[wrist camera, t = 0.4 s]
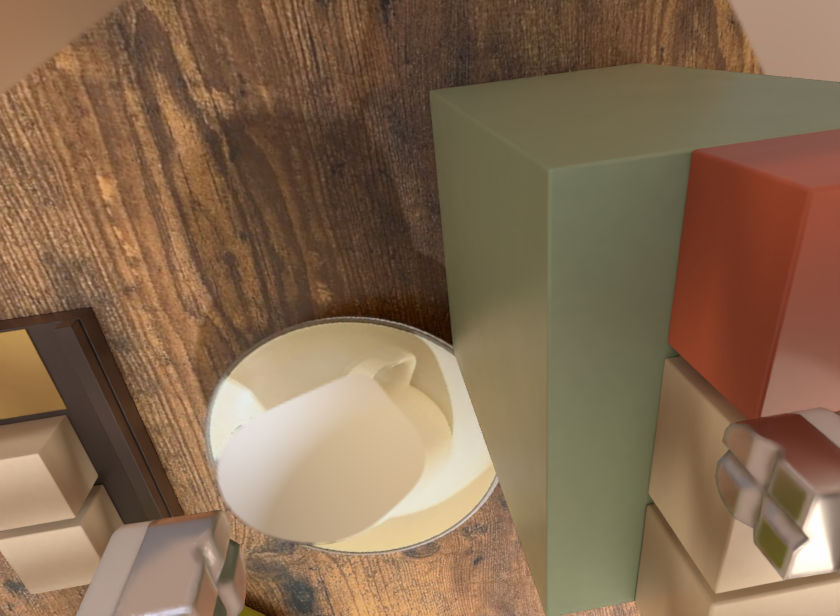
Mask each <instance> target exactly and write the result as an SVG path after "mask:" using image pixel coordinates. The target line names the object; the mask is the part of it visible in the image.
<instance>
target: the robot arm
mask: <svg viewBox="0 0 840 616" xmlns="http://www.w3.org/2000/svg"><path fill="white" fill-rule="evenodd" d="M722 442H723V443H724V444H725V446H726V447H727V448H728V451H727V452H726V453H725V454H724V455H723V456H722V457H721V458H720V459H719V460H718V461H717V466H716V472H715V480H716V485H717V489H718V493H719V495H720V497H721V499H722V501H723V503H724V505H725V507H726V508H727V509H728V511H729V512H730V513H731V515H732V516H733V517H734V518H735V519H736V520H738V521H740V522H742V523H743V524H745V525H747V526H749V527H751V528H753V543H754V544H755V545H756V546H757V548H758V549H759V550H760V551H761V553H762V554H763V555H764V556H765V558H766V559H767V560H768V561H769V563H770V564H771V565H772V566H773V568H774V569H775V570H776V571H777V573H778V574H779V575H780V576H781V578H782V579H783V580H788V579H794V578H800V577H807V576H813V575H819V574H825V573H832V572H838V571H839V572H838V574H837V575H839V576H840V417H839V416H838V415H837V414H836V413H834V412H833V411H831V410H828V409H825V408H823V407H818V408H812V409H807V410H801V411H795V412H791V413H783V414H778V415H772V416H767V417H761V418H756V419H750V420H745V421H739V422H734V423H731V424H730V425H729V426H728V427H727V428H726V429H725V432H724V436H723V440H722ZM231 529H232V524H231V522H230V519H229V517H228V515H227V513H226V511H222V510H218V511H211V512H204V513H197V514H190V515H183V516H177V517H170V518H163V519H156V520H153V521H146V522H139V523H132V524H125V525H121V526H120V527H119V528H118V529H117V530H116V531H115V532H114V533H113V534H112V536H111V538H110V540H109V543H108V545H107V547H106V549H105V551H104V554H103V556H102V558H101V560H100V563H99V565H98V567H97V569H96V571H95V574H94V576H93V578H92V580H91V583H90V585H89V587H88V589H87V591H86V594H85V596H84V598H83V600H82V602H81V605H80V607H79V609H78V611H77V614H76V616H238V615H239V614H240V612H241V611H242V610H243V608H244V603H245V596H246V590H247V584H246V564H245V559H244V554H243V552H242V549H241V546H240V544H238V543H236V542H234V541H233V540H231V539H229V538H230V534H231Z"/></svg>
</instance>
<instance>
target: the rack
mask: <svg viewBox="0 0 840 616" xmlns="http://www.w3.org/2000/svg"><path fill="white" fill-rule="evenodd" d="M183 515H184V514H183V512H182V509H181V507H180V505H179V503H178V500H177V498H176V496H175V494H174V492H173V489H172V487H171V485H170V483H169V480H168V478H167V476H166V474H165V472H164V469H163V467H162V465H161V463H160V460H159V458H158V456H157V454H156V452H155V449H154V447H153V445H152V443H151V440H150V438H149V436H148V434H147V431H146V429H145V427H144V425H143V423H142V420H141V418H140V416H139V414H138V411H137V409H136V407H135V405H134V403H133V400H132V398H131V396H130V394H129V391H128V389H127V387H126V385H125V383H124V380H123V378H122V376H121V374H120V371H119V369H118V367H117V365H116V363H115V360H114V358H113V356H112V354H111V351H110V349H109V347H108V345H107V343H106V340H105V338H104V336H103V334H102V331H101V329H100V327H99V325H98V322H97V320H96V318H95V316H94V314H93V311H92V309H91V308H83V309H76V310H70V311H63V312H56V313H50V314H43V315H36V316H30V317H23V318H17V319H10V320H3V321H0V551H1V553H2V554H3V555H4V557H5V558H6V560H7V561H8V562H9V564H10V565H11V567H12V568H13V570H14V571H15V572H16V574H17V575H18V577H19V578H20V579H21V581H22V582H23V584H24V585H25V586H26V588H27V589H28V591H29V592H30V593H31V594H38V593H43V592H49V591H54V590H60V589H65V588H71V587H76V586H82V585H87V584H90V583H91V580H92V578H93V576H94V574H95V571H96V569H97V567H98V565H99V563H100V560H101V558H102V556H103V554H104V551H105V549H106V547H107V545H108V543H109V540H110V538H111V536H112V534H113V533H114V532H115V531H116V530H117V529H118V528H119V527H120V526H121V525H125V524H132V523H139V522H146V521H153V520H156V519H163V518H170V517H177V516H183Z"/></svg>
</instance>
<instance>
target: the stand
mask: <svg viewBox="0 0 840 616" xmlns="http://www.w3.org/2000/svg"><path fill="white" fill-rule="evenodd" d="M429 96H430V107H431V118H432V128H433V139H434V150H435V160H436V171H437V182H438V192H439V203H440V214H441V224H442V235H443V246H444V256H445V267H446V278H447V288H448V299H449V310H450V320H451V331H452V342H453V351H454V353H455V356H456V359H457V362H458V365H459V368H460V371H461V373H462V376H463V379H464V382H465V385H466V388H467V391H468V394H469V396H470V399H471V402H472V405H473V408H474V411H475V414H476V417H477V419H478V422H479V425H480V428H481V431H482V434H483V437H484V439H485V442H486V445H487V448H488V451H489V454H490V457H491V460H492V462H493V465H494V468H495V471H496V474H497V477H498V480H499V482H500V485H501V488H502V491H503V494H504V497H505V500H506V503H507V505H508V508H509V511H510V514H511V517H512V520H513V523H514V526H515V528H516V531H517V534H518V537H519V540H520V543H521V546H522V548H523V551H524V554H525V557H526V560H527V563H528V566H529V569H530V571H531V574H532V577H533V580H534V583H535V586H536V589H537V591H538V594H539V597H540V600H541V603H542V606H543V609H544V612H545V614H546V616H561V615H566V614H571V613H576V612H581V611H586V610H591V609H596V608H601V607H606V606H611V605H617V604H622V603H627V602H632V601H635V596H636V588H637V581H638V573H639V565H640V557H641V549H642V541H643V534H644V526H645V518H646V510H647V506H648V505H649V504H654V501H653V499H652V498H651V496H650V495H649V493H648V490H649V482H650V474H651V466H652V458H653V450H654V442H655V434H656V427H657V419H658V411H659V403H660V395H661V387H662V379H663V371H664V364H665V359H667V358H673V357H678V356H681V355H680V354H679V353H678V352H677V351H676V350H675V349H673V348H672V347H671V346H670V345H669V343H668V336H669V328H670V320H671V312H672V304H673V296H674V288H675V281H676V273H677V265H678V257H679V249H680V241H681V233H682V226H683V218H684V210H685V202H686V194H687V186H688V179H689V171H690V163H691V155H692V152H693V150H696V149H701V148H708V147H715V146H722V145H729V144H736V143H743V142H750V141H757V140H764V139H771V138H778V137H785V136H792V135H799V134H806V133H813V132H820V131H827V130H834V129H840V82H831V81H822V80H811V79H802V78H791V77H781V76H771V75H760V74H750V73H740V72H729V71H719V70H709V69H699V68H688V67H678V66H668V65H657V64H647V63H634V64H627V65H619V66H611V67H604V68H596V69H588V70H581V71H573V72H566V73H558V74H550V75H543V76H535V77H527V78H520V79H512V80H504V81H497V82H489V83H481V84H474V85H466V86H459V87H451V88H443V89H436V90H430V91H429Z"/></svg>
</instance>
